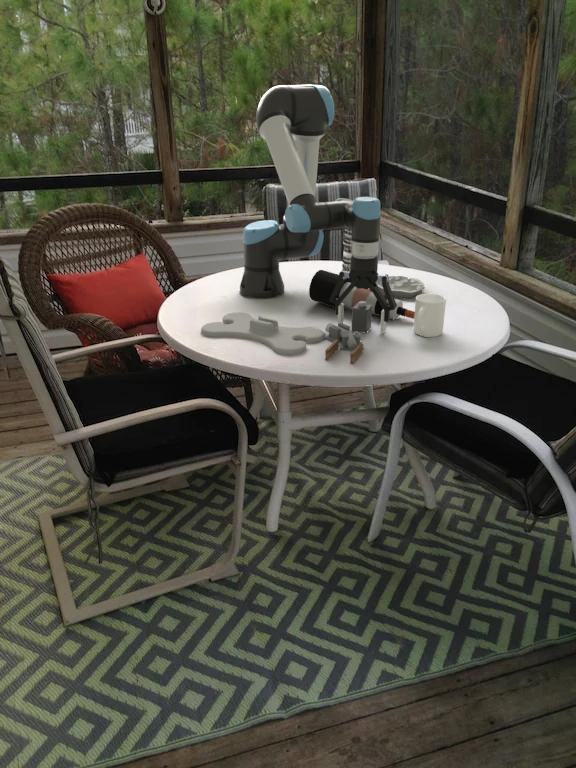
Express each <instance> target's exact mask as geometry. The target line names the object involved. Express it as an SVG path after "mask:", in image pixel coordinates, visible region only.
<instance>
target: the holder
mask: <svg viewBox="0 0 576 768" xmlns="http://www.w3.org/2000/svg"><path fill="white" fill-rule="evenodd" d="M257 317H258V319H256V318H255V317H253V316H252V315H251V314H249V313H247V312H230V313H227V314H225V315H224V316H223V317H222V321H215V322H214V321H213V322H208V323H205V324H203V325H202V327H201V328H200V331H201V334H202V336H204V337H207V338H237V339H247V340H252V341H256V342H259V343H262V344H264V345H265V346H267V347H269V348H270V349H272V350H273V351H274V352H275V353H276V354H279V355H283V356H295V355H300V354H303V353H305V352H306V350H307V344H317V343H319V342H322V341H324V340H325V336H326V334H325V332H324V330H322V329H320V328H318V327H309V326H307V327H306V326H305V327H292V326H280V325H279V321H278V320H276V319H274V318H270V317H265V316H261V315H258V316H257Z"/></svg>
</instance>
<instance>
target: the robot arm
mask: <svg viewBox="0 0 576 768" xmlns="http://www.w3.org/2000/svg"><path fill="white" fill-rule="evenodd" d="M255 113H256V115H255V116H256V117H255V119H256V120H255V121H256V127H257V130H258V133H259V135H260V137H261V138H262V139H263V140H265V143H266V144H267V148H268V149H269V153H270V155H271V158H272V161H273V164H274V167H275V170H276V173H277V175H278V179H279V181H280V184H281V186H282V189H283V191H284V194H285V197H286V200H287V203H288V204H287V205H288V206H287V207H286V209H285V213H284V215H283V218H282V223H281V224H279V222H278V221H277V220H274V219H268V220H265V219H264V220H263V219H262V220H258V221H257V220H256V221H253V222H251V223H249V224H247V225H246V226H244V229H243V233H242V244H243V245H242V246H243V266H244V268H243V269H244V270H243V274H242V278H241V281H240V284H239V294H240V295H241V296H243V297H245V298H248V299H249V298H250V299H256V300H257V299H259V300H261V299H262V300H266V299H272V298H277V297H280V296H282V295H283V294H284V293H285V283H284V281H283V278H282V275H281V272H280V263H279V262H280V261H283V260H284V261H285V260H293V259H306V258H308V257H314V256H316V255H317V254H318V253H319V252H320V251H321V250H322V247H323V244H324V237H325V235H324V230H325V231H327V230H338V229H343V228H348V229H351V230H352V240H351V254H352V256H351V270H350V272H346V271H345V270H342V269H341V271H339V273H338V275H339V280H338V282H337V284H336V286H335V288H334V290H333V293H332V295H331V297H330V299H329V302H332V303H334V304H335V307H334V315H335V316H337V326H338V324H339V323H343V324H344V315H345V314H344V313H345V310H344V309H345V307H344V303H341V302H342V301H343V300H344V298H345V297H346V296H347V295H348V294H349V293H350V291H351V290H352V289H353V288H354V287H357V288H358V289H360V288H363V289H370V291H371V292H373V294H374V295H375V297H376V298H377V300H378V302H379V303H380V305H381V306H382V308H383V310H382V311H381V316H380V330H379V331H380V333H379V334H385V333H384V332H385V331H386V328H387V327H386V325H387V324H386V323H388V322H389V321H390V310H394V309H395V308H396V307H397V304H396V301H395V299H396V298H395V297H394V296H393V293H392V290H391V288H390V285H389V274H387V273H386V274H384V275H383V274H382V275H381V274H380V275H379V273H378V268H379V267H378V265H379V263H378V262H379V257H378V255H379V249H380V248H379V247H380V246H379V245H380V227H381V215H382V212H381V200H380V199H378V198H377V197H371V196H359V197H356V198H354V199H353V200H352V199H351V198H347V197H345V198H344V197H340V198H336V199H334V200H333V201H322V202H321V201H320V202H317V199H316V192H317V180H318V179H317V178H318V165H319V155H320V154H319V151H320V141H321V139H322V138H323V137H324V136H325V135H326V127H329V126H331V125H332V124H333V121H334V120H335V103H334V99H333V97H332V94H331V91H330V90H329V89H328V88H327V87H326V86H325V85H323V84H322V85H321V84H293V85H292V84H291V85H290V84H288V85H287V84H286V85H285V84H282V85H281V84H279V85H275V86H273V87H271V88H269V90H267V91H266V92H265V93H264V94H263V95H262V97H261V98H260V101H259V102H258V106H257V109H256V112H255ZM348 276H349V277H348ZM347 277H348V278H350V279H351V281H352V283H351V284H350V285H349V286H348V288H347V289H346V290H345V291H344V292H343V293H342V295H341V296H340V297H339V298H338V299H337V298H336V297H337V295H338V293H339V291H340V289H341V287H342V285H343V283H344V280H345V279H346V278H347ZM377 280H380V283H382V286H383V289H384V292H385V295H386V298H387V300H388V302H387V300H386V299H385V297H384V296H383V294H382V293H381V291H380V290H379V288H378V285H377V284H376V281H377ZM338 327H339V326H338Z"/></svg>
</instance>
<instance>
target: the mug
mask: <svg viewBox="0 0 576 768" xmlns="http://www.w3.org/2000/svg"><path fill="white" fill-rule="evenodd" d="M446 302H447V298H446V297H445V296H443V295H440V294H437V293H422V294H421V293H420V294H419V295H416V296H415V306H414V312H415V316H414V319H413V332H414V334H416V335H417V334H418V335H417V336H419V335H420V336H421V337H423V336H424V337H426V338H436V337H439V336H441V335H442V334H443V331H444V323H445V313H446ZM420 336H419V337H420Z"/></svg>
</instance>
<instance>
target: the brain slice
mask: <svg viewBox="0 0 576 768" xmlns="http://www.w3.org/2000/svg"><path fill="white" fill-rule="evenodd" d="M388 276H389V275H388ZM376 284H377V285H378V288H379V290H380V291H381V293H382V294H383V295H385V292H384V289H383V286H382V283H380V280H377V281H376ZM389 285H390V288H391V290H392V293H393V296H394V298H395V297H397V298H396V299H403V298H405V299H404V300H406V299H407V300H409V299H412V298H413V297H417V296H418V295H421V293H422V292H423V290H425V289H426V287H425V284H424V282H422V280H421V279H418V278H414V277H413V278H410V277H409V278H408V277H407V276H402V275H397V276H395V275H393V276H391V275H390V276H389ZM385 296H386V295H385Z"/></svg>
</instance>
